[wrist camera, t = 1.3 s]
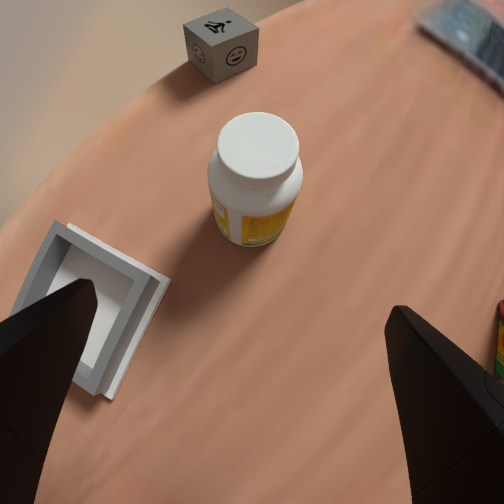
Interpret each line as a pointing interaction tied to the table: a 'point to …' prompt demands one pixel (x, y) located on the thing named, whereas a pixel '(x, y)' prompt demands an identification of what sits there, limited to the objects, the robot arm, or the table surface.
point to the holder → (109, 300)
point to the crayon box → (500, 345)
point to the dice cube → (221, 44)
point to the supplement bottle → (254, 178)
